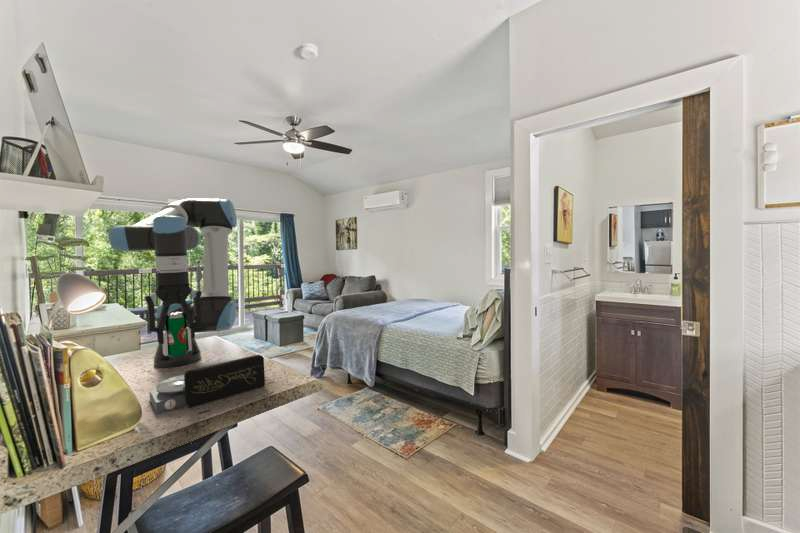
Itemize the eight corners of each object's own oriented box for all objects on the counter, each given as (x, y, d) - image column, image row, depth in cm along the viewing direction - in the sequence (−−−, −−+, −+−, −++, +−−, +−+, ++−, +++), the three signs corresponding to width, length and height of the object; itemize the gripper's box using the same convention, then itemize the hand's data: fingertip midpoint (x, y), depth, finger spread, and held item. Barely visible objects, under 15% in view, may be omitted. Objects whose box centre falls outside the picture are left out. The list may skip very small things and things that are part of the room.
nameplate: (262, 384, 108) (261, 354, 107) (265, 386, 106) (263, 355, 105) (186, 406, 94) (183, 371, 93) (187, 409, 92) (185, 373, 92)
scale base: (150, 400, 98) (149, 390, 97) (200, 386, 107) (200, 377, 106) (157, 414, 89) (156, 403, 89) (211, 397, 98) (211, 387, 98)
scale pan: (153, 387, 98) (153, 382, 98) (196, 376, 106) (196, 371, 106) (160, 399, 90) (160, 393, 90) (206, 386, 98) (206, 381, 98)
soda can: (164, 355, 97) (161, 313, 96) (184, 350, 101) (181, 310, 100) (170, 358, 94) (167, 315, 93) (190, 353, 97) (188, 312, 97)
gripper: (133, 274, 87) (140, 363, 88) (211, 269, 99) (216, 347, 101) (130, 273, 92) (136, 356, 93) (204, 268, 105) (208, 342, 106)
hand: (177, 351), depth 97 cm, fingers closed on soda can, 5 cm apart
